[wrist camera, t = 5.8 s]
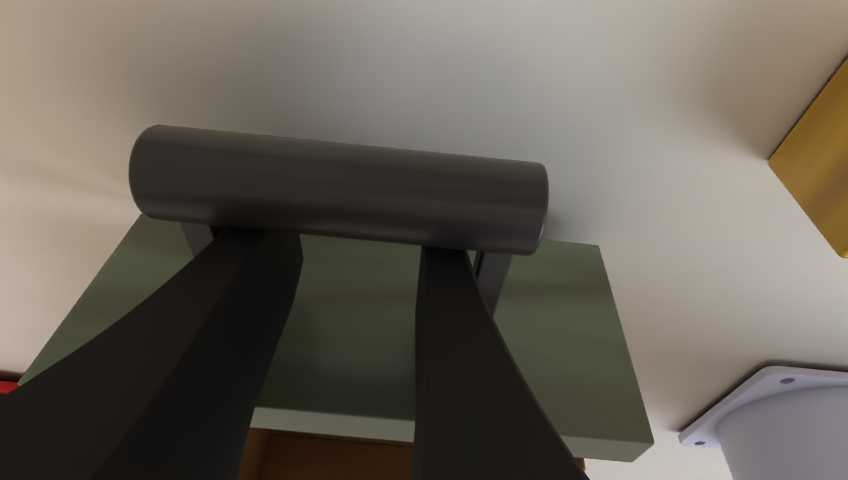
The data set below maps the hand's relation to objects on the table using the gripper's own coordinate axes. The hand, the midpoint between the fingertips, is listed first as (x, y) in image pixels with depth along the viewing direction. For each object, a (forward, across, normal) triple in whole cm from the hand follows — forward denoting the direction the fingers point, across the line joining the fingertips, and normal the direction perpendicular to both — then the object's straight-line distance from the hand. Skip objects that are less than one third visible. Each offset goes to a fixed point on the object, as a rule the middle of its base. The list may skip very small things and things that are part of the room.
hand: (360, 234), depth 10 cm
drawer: (+3, 0, +7) cm, 8 cm away
